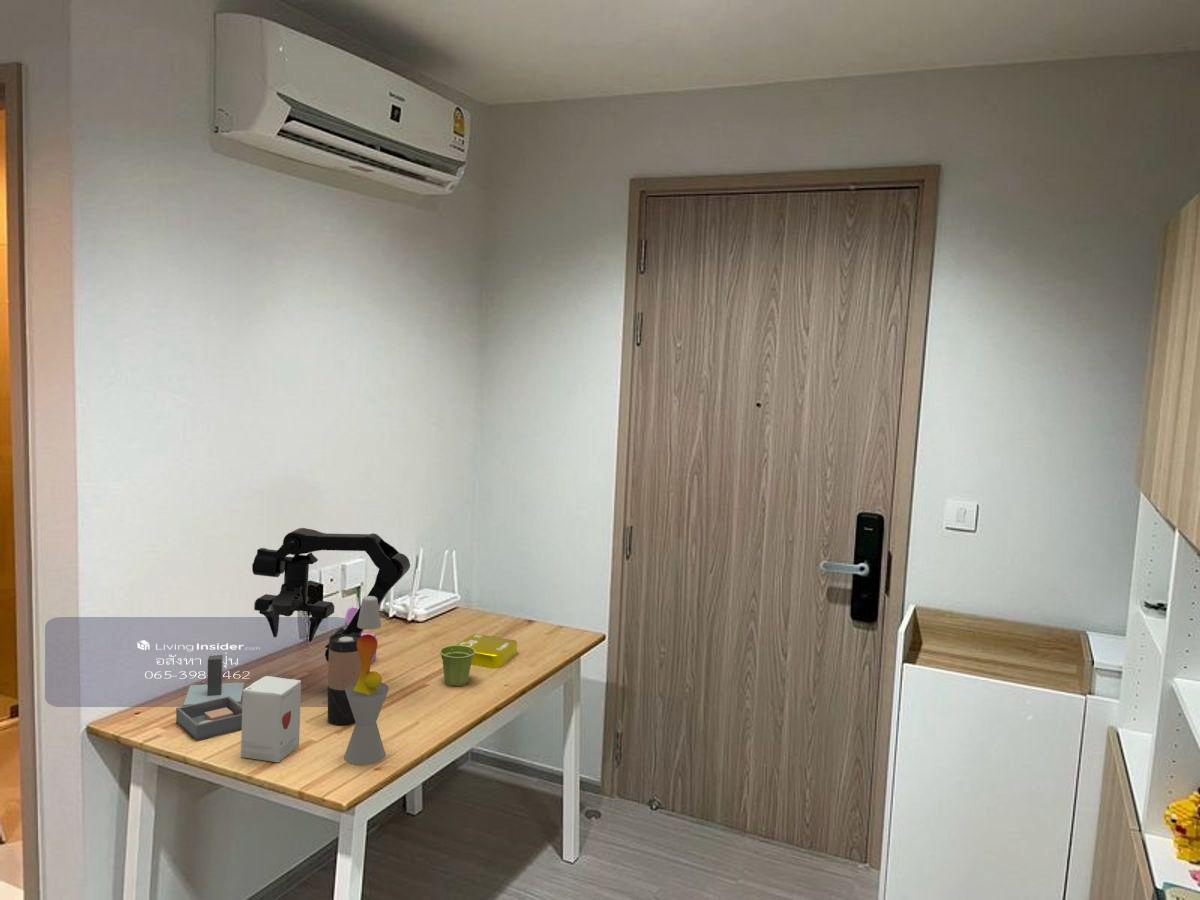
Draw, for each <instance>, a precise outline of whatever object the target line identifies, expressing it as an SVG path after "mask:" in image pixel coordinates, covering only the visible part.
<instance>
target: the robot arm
mask: <svg viewBox="0 0 1200 900" xmlns="http://www.w3.org/2000/svg"><path fill="white" fill-rule="evenodd" d="M319 551H339V552H340V551H345V552H347V551H348V552H365V553H366V554H367V555H368V556H369V558H370V559H371V561H372V563H373V565H374V566H375V567H376V568H377V569H378V572H377V574H376V577H375V581H374V584H373V586H372V588H371V590H370V591H369V593H368V594H367V596H374V597H376V598H377V599H378V606H379V607H380V606H381V604H382V602H383V601H384V599H385V598H386V596H387V594H388V593H389V592H390V590H391V589H392V588H393V587H394V586H395V585H396V584H397V583H398V582H399V581H400V580H401V579H402V578H403V577H404V576H405V575H406V573H408V571H409V570H410V568H411V563H410V559H409V557H408V556H407V555H406V554H404V553H401V552H399V551H398V550H397V549H396V547H394V546H393V545H391V544H390V543H388V542H387V541H385V540H384V539H383V538H381V536H380V535H379V534H377V533H369V534H368V533H367V534H365V533H326V532H321V531H318V530H315V529H311V528H306V527H300V528H296V529H295V530H292V531H290V532H288V533H287V534H286V535H285V536H284V538H283V539H282V544H281V546H280V547H279V548H278V549H277V550H275V549H268V548H265V547H260V548H258V549H257V550H256V555H255V557H254V560H253V563H252V564H251V569H252V573H253V575H254V576H260V577H261V576H262V577H272V578H278V577H280V576H281V574H282V575H284V579H283V584H281V586H280V590H279V591H280V592H279V594H277V595H274V594H267V593H266V594H263V595H262V596H260V597H258V598H256V599H255V601H254V604H253V607H254V608H253V610H254V611H258V613H259V614H260V615H263V616H264V617H265V618H266V620H267V622H268V624H269V627H270V631H271V633H272V634H271V635H272V636H273V638H277V637H278V633H279V624H280V616H285V617H290V616H292V615H294V612H309V614H310V615H311V616H310V617H309V618H308V621H309V631H308V643H309V642H313V639H314V638H315V635H316V633H317V631H318V629H319V627H320V625H321V623H322V621H323V620H324V619H327V618H328V617H330V616H331V615H333V614H334V613H335V605H334V603H333V602H332V601H325V600H318V601H316V602H315V603H313V604H312V603H308V602H309V601H310V597H309V596H308V589H309V588H308V587H309V586H310V585H311V581H310V580H309V571H310V570H309V569H310V565H314V564H315V563H316V562H318V560H319V559H318V558H317V557H316V556H315V555H314V554H313V553H314V552H319ZM289 555H291V556H289ZM357 609H358V611H357V613H356V614H355V616H354V617H353V619H352V620H351V622H350V623H349V625H348V627H347V626H346V627H345V628H346V629H345V628H344V627H343V626H342V627H340V628H339V629H337V631H336V632H335V633H333V634H332V635H334V634H337V633H342V634H344V635H349V634H351V633H357V634H360V635H361V634H362V633H364V630H365V629H360V628H358V627H357V624H358V619H359V614H360V609H361V605H360V606H359V608H357ZM324 648H325V653H324V656H325V660H326V662H327V663H328V662H329V643H328V644H327V645H325V646H324Z"/></svg>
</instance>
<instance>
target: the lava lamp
mask: <svg viewBox="0 0 1200 900" xmlns="http://www.w3.org/2000/svg"><path fill="white" fill-rule="evenodd" d="M360 606H361V609H360V614H359V619H358V624H357V627H358V628H360V629H364V630H377V629H379V628H381V627H382V622H381V616H380V606H378V599H377V598H376V597H374V596H368V595H367V596H364V597H362V600H361V604H360ZM369 634H370V633H367V634H366V635H363V636H361V637H360V638H359V639H358V641H357V649H358V653H359V656H360V661H361V671H360V676H359V679H358V682H357V683H353V684H351V685H349V686H347V687H346V689H345V692H346V695H347V698H348V701H349V704H350V707H351V710H352V713H353V716H354V719H355V722H356V723H354V728H353V731H352V732H351V736H350V739H349V741H348V744H347V747H346V751H345V753H344V755H343V758H344V760H345V762H347V763H349V764H352V765H357V766H368V765H374V764H378V763H379V762H381V761H383V760H384V759H385V758H386V755H387V754H386V751H385V747H384V744H383V740H382V737H381V734H380V730H379V727H378V723H377V721H378V718H379V717H380V713H381V710H382V707H383V705H384V704H385V701H386V698H387V695H388V692H389V690H390V689H389V686H388V685H387V684H386V683H383V682H382V680H383V679H382V678H383V677H382V675H381V674H380V673H379V672H378V671H374V670H373V671H371V665H372V663H371V661H372V658H373V655H374V653H375V651H376V652H377V650H376V649H377V648H378V639H377V640H376V638H377V637H376V638H375V637H374V636H372V635H369Z"/></svg>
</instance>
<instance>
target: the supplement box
mask: <svg viewBox="0 0 1200 900" xmlns="http://www.w3.org/2000/svg"><path fill="white" fill-rule="evenodd" d="M301 687H302V680H300V679H292V678H285V677H284V678H283V677H277V676H270V675H265V676H263V677H261V678H260V679H258V680H256V681H254V682H253V683H251V684H250V685H249V686H247V687H246V688H245V687H244V689H243V694H242V699H241V705H242V730H241V735H240V737H241V740H240V757H241V758H247V759H253V760H257V761H265V762H266V761H267V762H271V763H273V762H274V763H276V764H277V763H280V762H281V761H282V760H283V759H285V758H286V757H287V756H288V755H289V754H291V753H292V752H293V751H295V750H296V749H297V748H299V746H300V727H301V726H300V724H301V723H300V721H301V695H302V694H301V693H302V692H301V690H302V688H301Z"/></svg>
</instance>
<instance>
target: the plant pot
mask: <svg viewBox="0 0 1200 900" xmlns="http://www.w3.org/2000/svg"><path fill="white" fill-rule="evenodd" d="M475 652H476V651H475V649H474V648H472V647H469V646H463V645H456V644H453V645H447V646H444V647H441V649H440V650H439V654H440V655H441V656H440V657H441V659H442V665H443V666H442V668H443V678H444V680H443V681H444V683H445V684H446V685H447V686H450V687H451V686H456V687H462V686H465V685H467V684H468V682H469V677H470V672H471V666H472V665H471V662H472V659H473V656H474V654H475Z"/></svg>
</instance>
